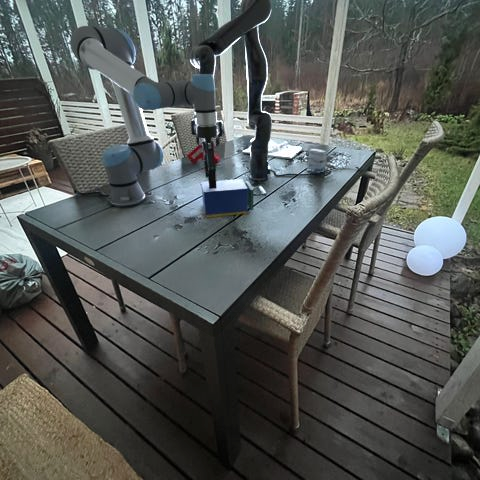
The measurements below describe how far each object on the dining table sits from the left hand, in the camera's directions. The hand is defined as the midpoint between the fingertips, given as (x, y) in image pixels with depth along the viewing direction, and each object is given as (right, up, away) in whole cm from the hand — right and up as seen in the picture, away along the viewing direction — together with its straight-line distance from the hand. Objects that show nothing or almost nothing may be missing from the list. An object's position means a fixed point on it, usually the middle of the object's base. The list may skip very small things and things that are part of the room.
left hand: (210, 182), depth 108 cm
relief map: (+36, +40, +86) cm, 102 cm away
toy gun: (-11, +25, +63) cm, 69 cm away
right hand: (-2, +19, +13) cm, 23 cm away
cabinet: (+5, -10, +8) cm, 14 cm away
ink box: (+55, +17, +49) cm, 76 cm away
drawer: (+11, -9, +8) cm, 16 cm away
